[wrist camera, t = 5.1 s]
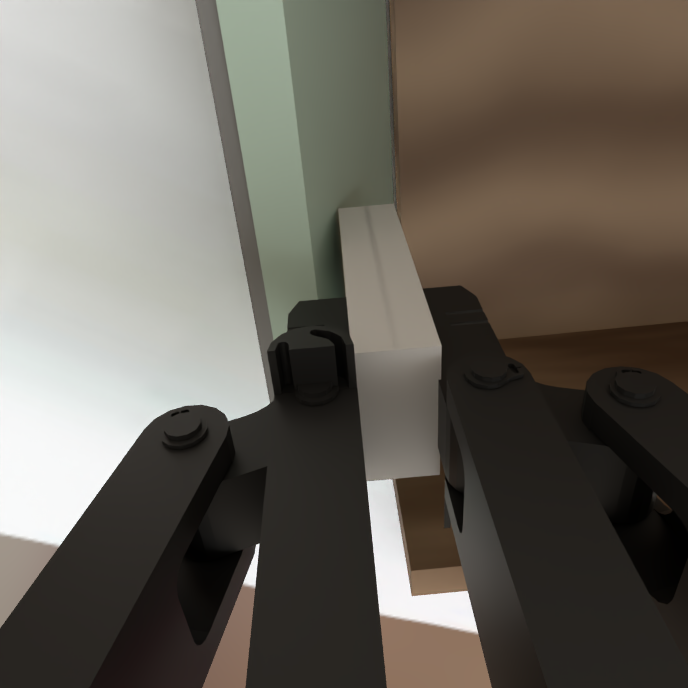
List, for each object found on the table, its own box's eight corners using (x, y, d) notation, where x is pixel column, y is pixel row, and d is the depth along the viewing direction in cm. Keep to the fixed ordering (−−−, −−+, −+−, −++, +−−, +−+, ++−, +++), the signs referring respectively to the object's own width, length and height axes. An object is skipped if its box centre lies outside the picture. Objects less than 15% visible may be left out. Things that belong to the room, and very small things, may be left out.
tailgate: (398, 342, 28) (348, 557, 18) (361, 341, 28) (290, 550, 18) (381, -109, 19) (261, -178, 9) (326, -102, 19) (152, -160, 9)
